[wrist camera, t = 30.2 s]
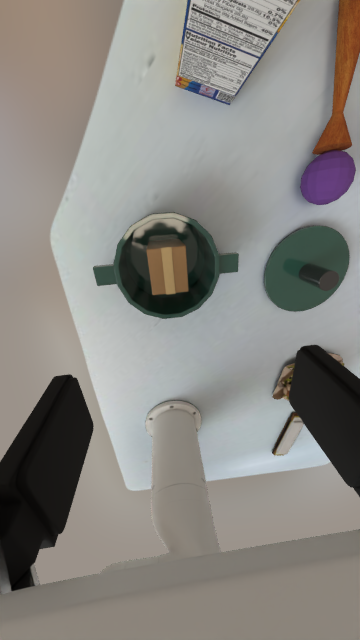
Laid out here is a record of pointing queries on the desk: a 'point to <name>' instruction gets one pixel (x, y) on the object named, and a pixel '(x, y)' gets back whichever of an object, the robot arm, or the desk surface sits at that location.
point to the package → (167, 266)
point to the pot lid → (306, 268)
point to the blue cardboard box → (227, 43)
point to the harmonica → (288, 435)
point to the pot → (134, 266)
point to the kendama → (336, 118)
